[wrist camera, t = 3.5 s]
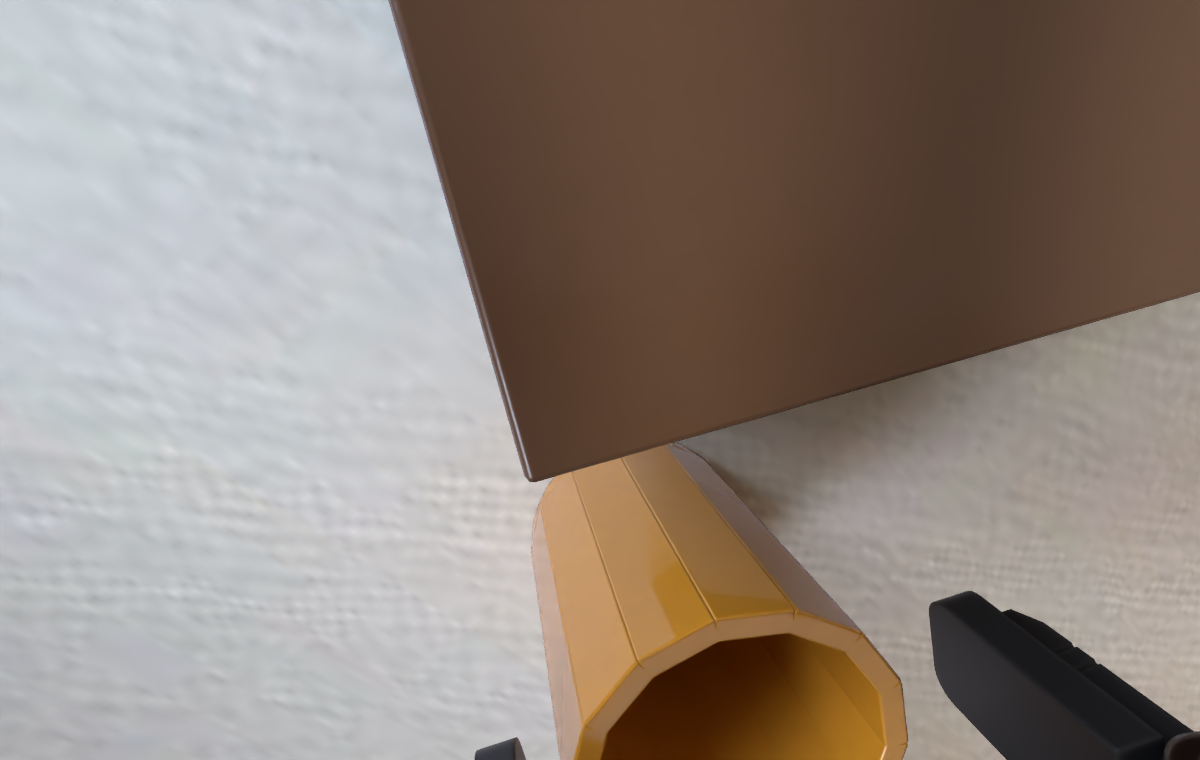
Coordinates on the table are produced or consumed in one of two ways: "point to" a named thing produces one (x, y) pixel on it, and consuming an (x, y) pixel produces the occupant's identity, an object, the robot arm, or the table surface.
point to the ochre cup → (695, 627)
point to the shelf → (795, 193)
